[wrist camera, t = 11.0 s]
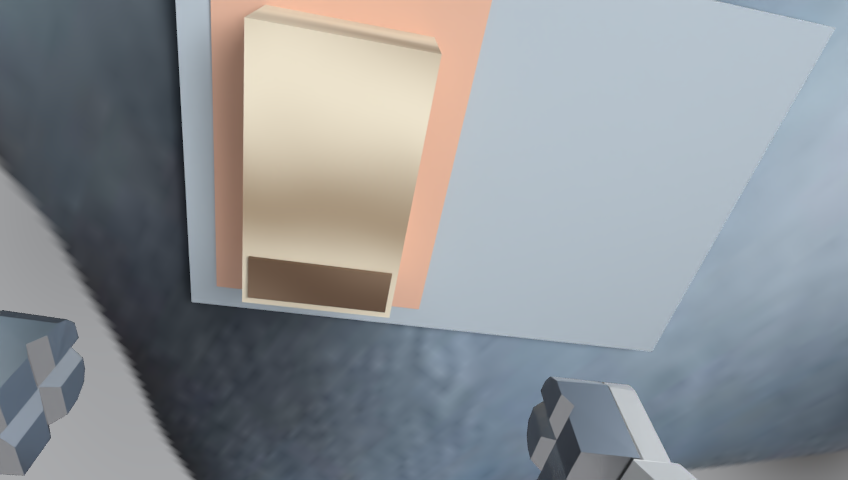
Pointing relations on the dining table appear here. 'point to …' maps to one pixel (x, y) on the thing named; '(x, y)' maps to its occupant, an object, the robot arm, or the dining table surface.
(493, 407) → the dining table surface
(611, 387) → the robot arm
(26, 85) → the dining table surface
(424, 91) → the cream curved ramp
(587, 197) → the mat
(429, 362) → the dining table surface
